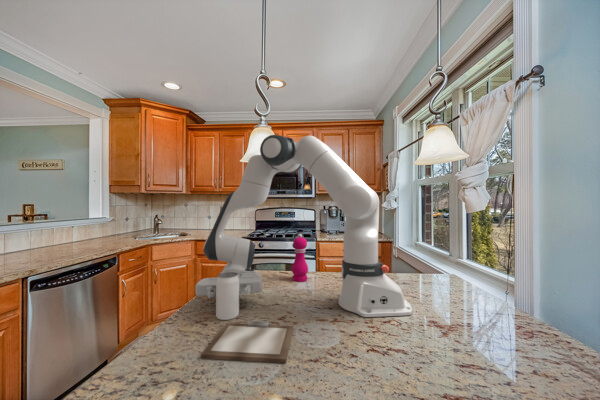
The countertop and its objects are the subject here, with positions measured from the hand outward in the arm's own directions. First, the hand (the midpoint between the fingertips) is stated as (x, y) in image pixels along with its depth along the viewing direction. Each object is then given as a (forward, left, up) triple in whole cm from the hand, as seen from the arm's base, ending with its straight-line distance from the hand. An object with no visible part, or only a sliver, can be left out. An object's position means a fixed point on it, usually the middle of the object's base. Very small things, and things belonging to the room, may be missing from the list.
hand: (227, 294), depth 72 cm
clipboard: (-11, +12, -7) cm, 18 cm away
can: (0, -1, -7) cm, 7 cm away
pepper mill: (-18, -38, -7) cm, 42 cm away
